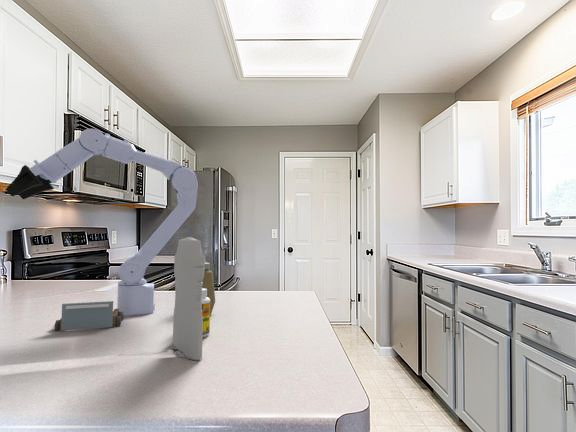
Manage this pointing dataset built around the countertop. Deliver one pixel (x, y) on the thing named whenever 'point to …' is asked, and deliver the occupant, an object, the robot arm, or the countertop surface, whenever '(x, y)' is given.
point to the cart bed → (116, 323)
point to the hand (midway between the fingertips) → (14, 194)
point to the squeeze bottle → (209, 283)
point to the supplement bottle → (205, 313)
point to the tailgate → (87, 315)
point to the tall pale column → (188, 299)
